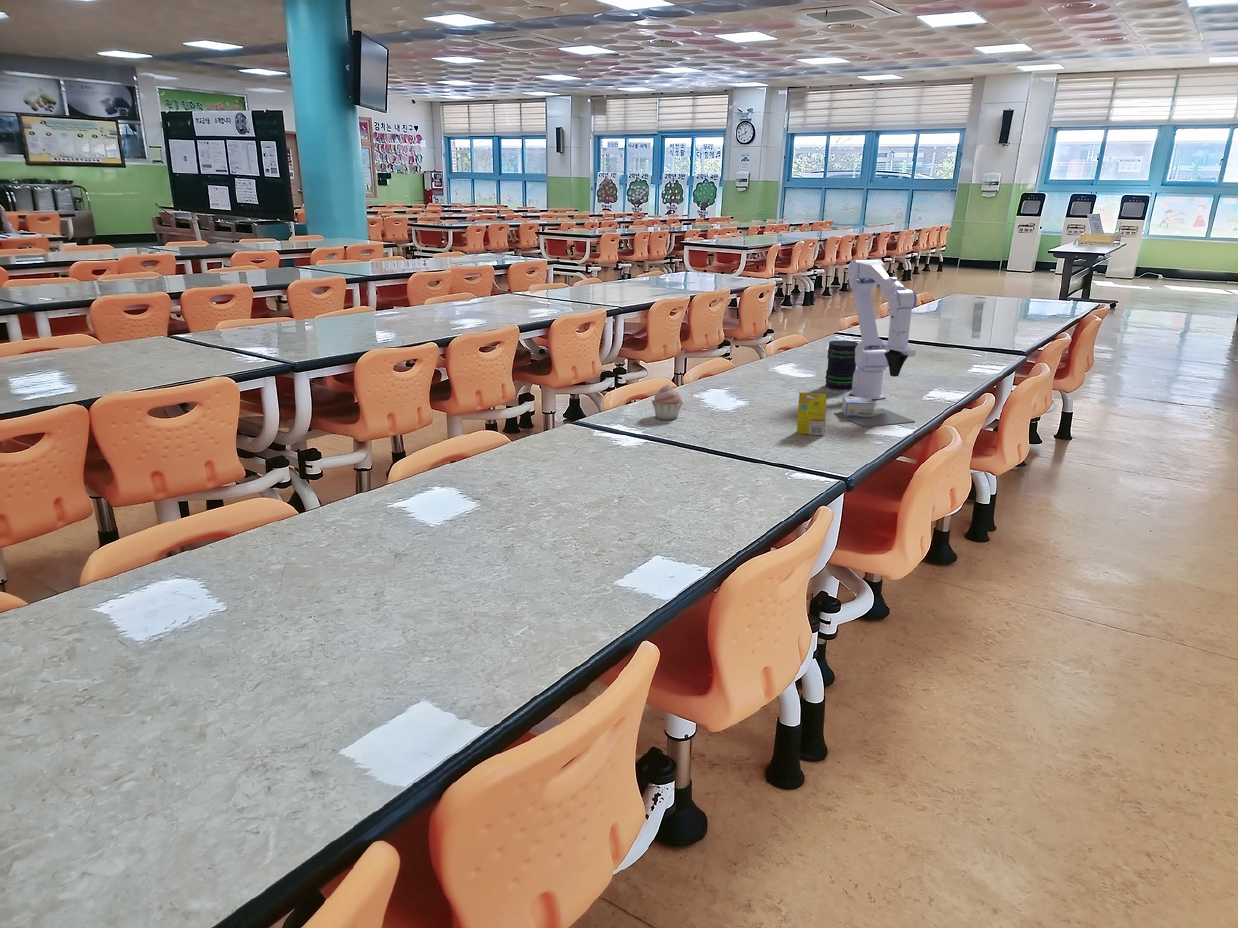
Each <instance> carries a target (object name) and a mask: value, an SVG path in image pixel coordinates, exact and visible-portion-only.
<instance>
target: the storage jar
mask: <svg viewBox="0 0 1238 928" xmlns="http://www.w3.org/2000/svg"><path fill="white" fill-rule="evenodd" d="M859 343H860V342H857V341H855V340H853V341H852V340H841V339H840V340H838V339H837V340H831V341H828V349H827V356H826V357H827V368H826V370H825V371H826V372H825V385H824V386H825V388H827V389H830V390H835V391H836V390H837V391H852V382H853V374H854V372H855V370H856V369H857V366H856V363H855V348H856V346H857V345H858V344H859Z"/></svg>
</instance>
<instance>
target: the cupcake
mask: <svg viewBox="0 0 1238 928" xmlns="http://www.w3.org/2000/svg"><path fill="white" fill-rule="evenodd" d="M651 404H652V406H653V409H654V413H655V414H654V415H655V417H656V419H658V420H662V421H672V420H675V419H678V417H679V413H680V410H681V407H682V405H683V404H684V401H683V400H682V397H681V395H680V394H679V393H678V391H677V390H676V389H674V388H673V387H671V386H670V383H667V384H666V385H663V386H662V387H661V388H660V389H659V391H657V392H656V393H655V395H654V399H653V400H651Z"/></svg>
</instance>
